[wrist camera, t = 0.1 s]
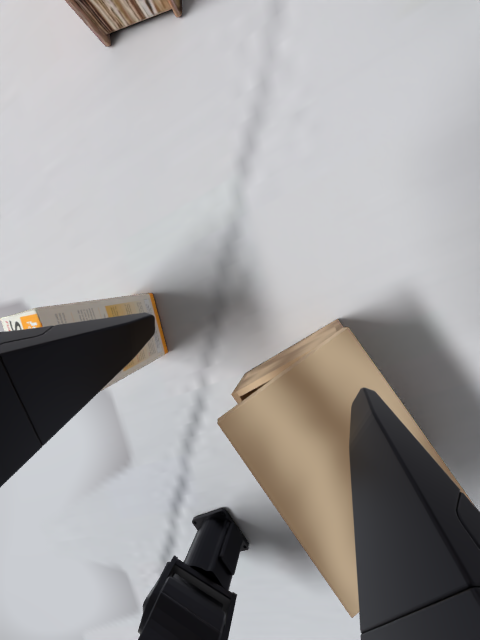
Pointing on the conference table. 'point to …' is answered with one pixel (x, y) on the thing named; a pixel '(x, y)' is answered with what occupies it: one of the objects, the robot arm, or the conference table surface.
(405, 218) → the conference table surface
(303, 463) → the lid
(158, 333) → the supplement box
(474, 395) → the conference table surface
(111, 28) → the book
